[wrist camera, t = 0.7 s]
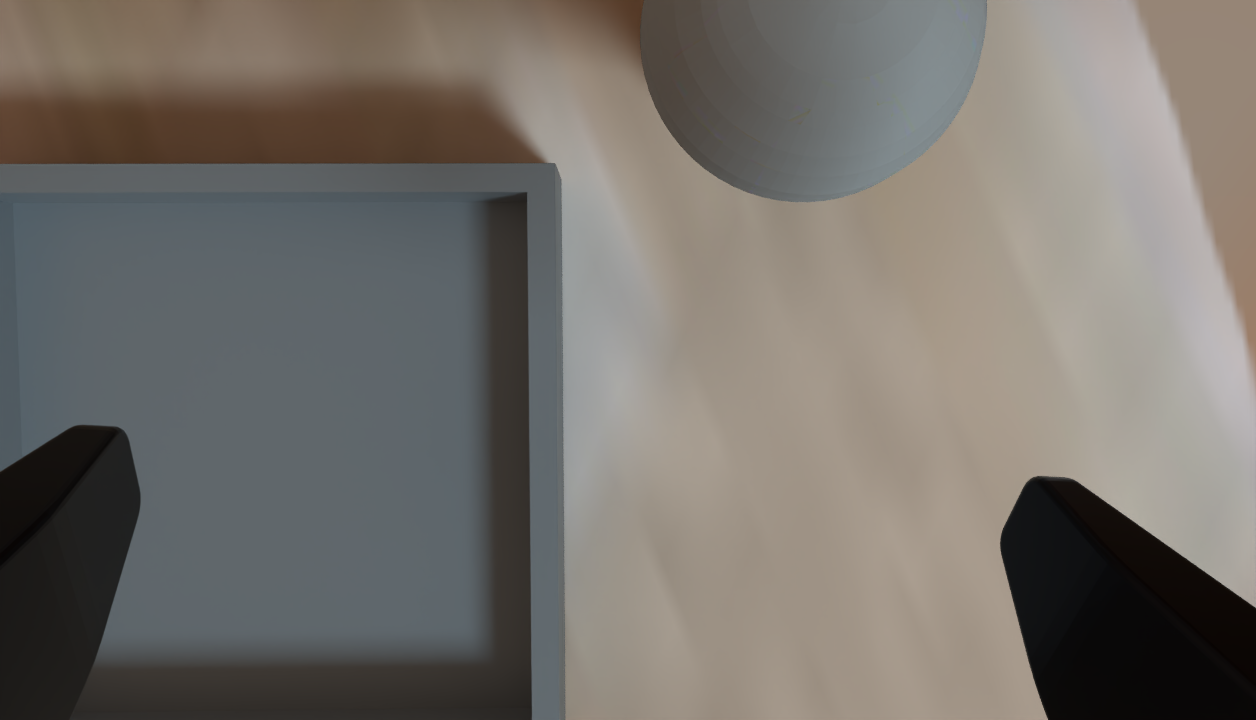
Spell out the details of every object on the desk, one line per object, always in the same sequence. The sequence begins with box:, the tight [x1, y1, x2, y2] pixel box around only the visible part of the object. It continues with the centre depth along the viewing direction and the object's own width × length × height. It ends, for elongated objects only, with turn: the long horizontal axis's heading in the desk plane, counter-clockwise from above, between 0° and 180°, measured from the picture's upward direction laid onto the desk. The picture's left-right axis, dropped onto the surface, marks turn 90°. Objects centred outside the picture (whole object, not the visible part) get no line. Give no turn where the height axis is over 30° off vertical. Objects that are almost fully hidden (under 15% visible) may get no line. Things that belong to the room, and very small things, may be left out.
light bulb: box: [640, 0, 987, 202], centre depth 18 cm, size 6×6×10 cm
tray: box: [0, 163, 565, 720], centre depth 22 cm, size 13×13×2 cm
